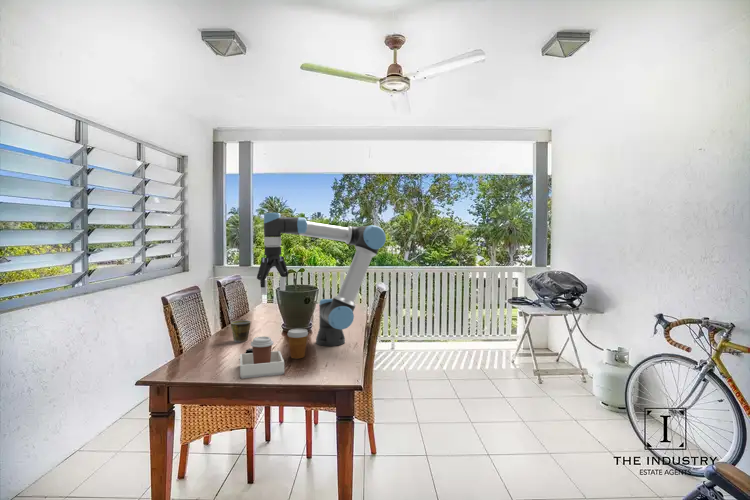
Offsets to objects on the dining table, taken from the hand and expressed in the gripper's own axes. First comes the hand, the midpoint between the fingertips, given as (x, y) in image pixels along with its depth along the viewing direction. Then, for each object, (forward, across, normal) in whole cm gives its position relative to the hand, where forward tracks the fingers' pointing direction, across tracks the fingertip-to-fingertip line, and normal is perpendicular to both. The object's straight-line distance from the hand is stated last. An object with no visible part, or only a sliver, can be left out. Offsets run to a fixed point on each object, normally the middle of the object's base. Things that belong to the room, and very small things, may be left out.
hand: (273, 292), depth 184 cm
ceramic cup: (+29, -12, -32) cm, 45 cm away
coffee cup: (+28, +19, +8) cm, 35 cm away
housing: (+29, +19, +8) cm, 35 cm away
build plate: (+30, +8, -7) cm, 32 cm away
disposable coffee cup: (+30, -3, +10) cm, 32 cm away
